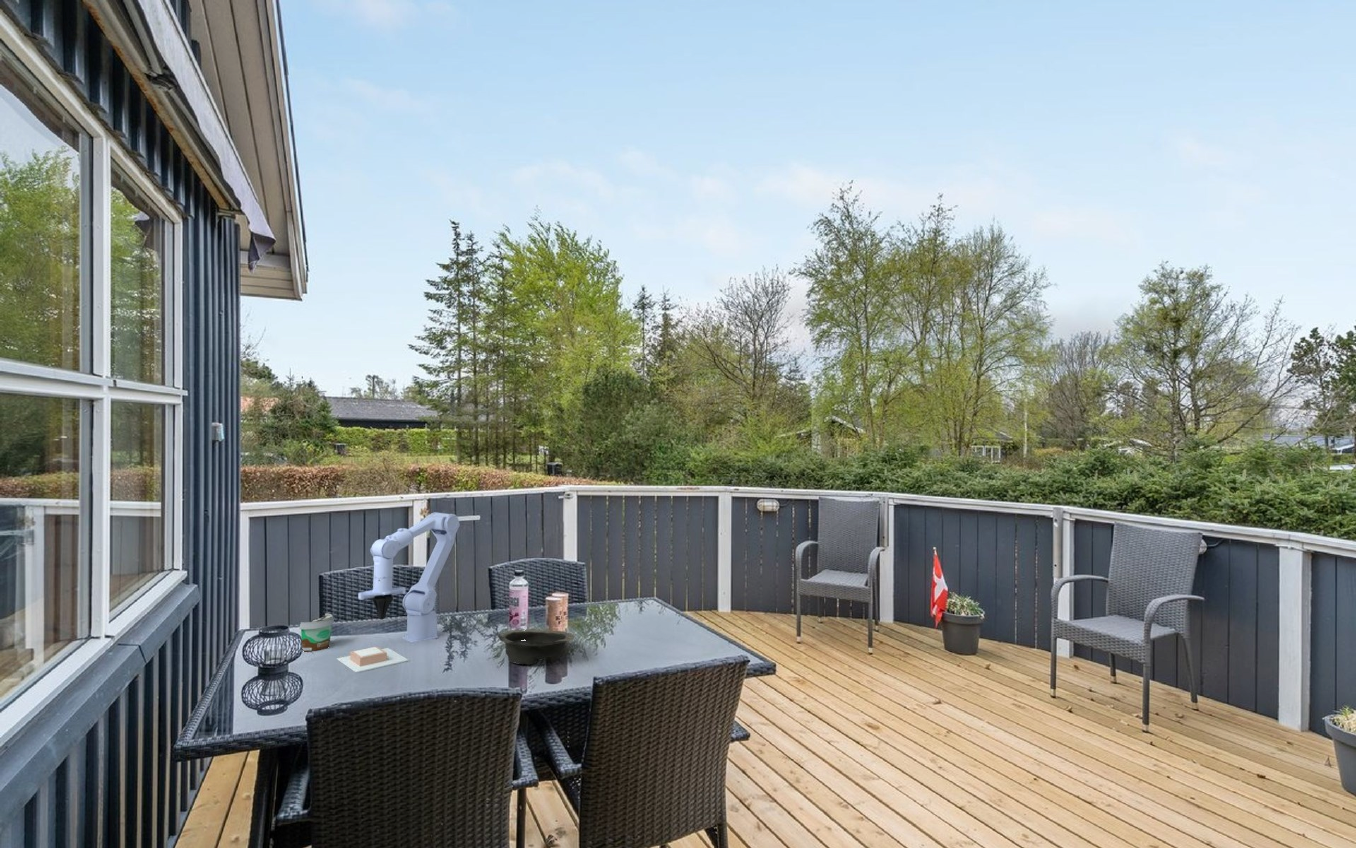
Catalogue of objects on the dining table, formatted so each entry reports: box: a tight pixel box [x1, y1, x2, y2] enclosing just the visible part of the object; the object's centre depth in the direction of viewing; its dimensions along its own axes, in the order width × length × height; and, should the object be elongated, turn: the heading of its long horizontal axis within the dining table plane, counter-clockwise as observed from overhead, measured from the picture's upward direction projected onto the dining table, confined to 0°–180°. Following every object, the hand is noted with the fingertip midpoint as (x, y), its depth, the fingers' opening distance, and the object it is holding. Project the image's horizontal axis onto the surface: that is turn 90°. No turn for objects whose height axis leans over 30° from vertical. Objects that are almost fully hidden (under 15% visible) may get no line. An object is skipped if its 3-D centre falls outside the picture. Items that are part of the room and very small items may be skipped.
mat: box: [334, 646, 411, 674], centre depth 215 cm, size 16×18×1 cm
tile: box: [349, 646, 387, 666], centre depth 214 cm, size 3×8×8 cm
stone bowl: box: [496, 628, 576, 665], centre depth 222 cm, size 25×25×9 cm
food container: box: [299, 612, 335, 653], centre depth 225 cm, size 12×6×10 cm, turn 168°
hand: (381, 618), depth 224 cm, fingers closed
